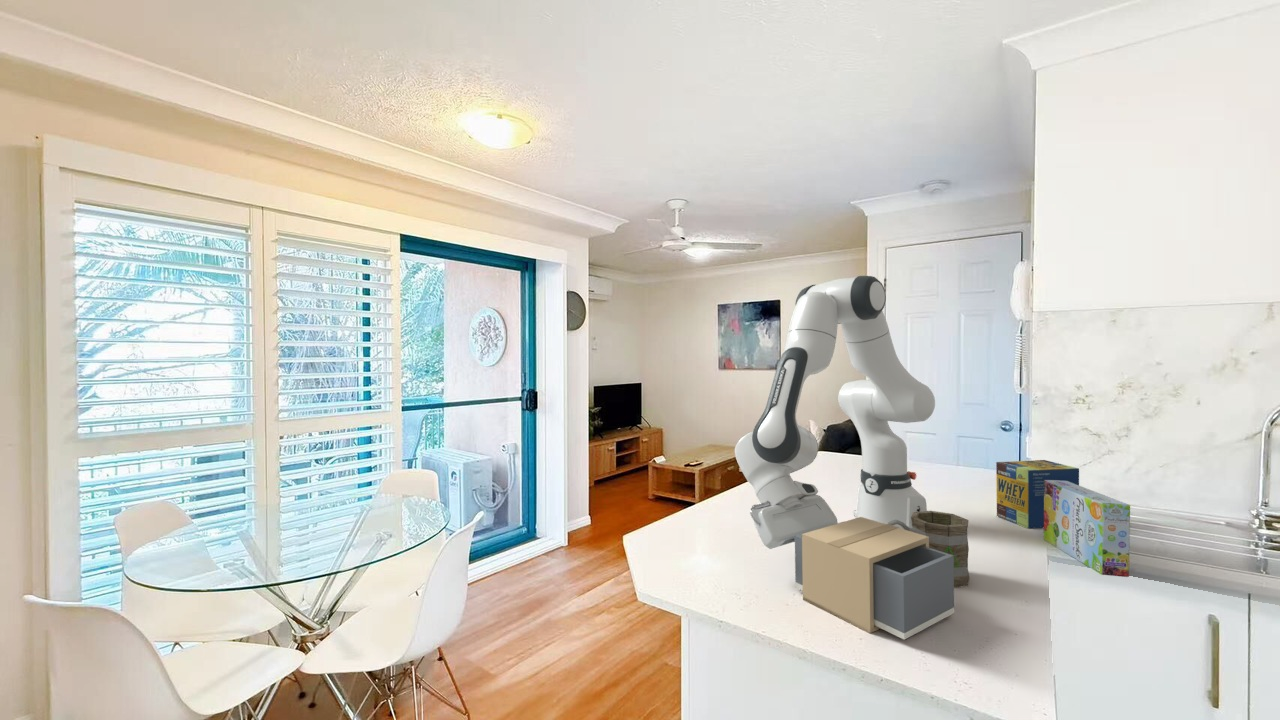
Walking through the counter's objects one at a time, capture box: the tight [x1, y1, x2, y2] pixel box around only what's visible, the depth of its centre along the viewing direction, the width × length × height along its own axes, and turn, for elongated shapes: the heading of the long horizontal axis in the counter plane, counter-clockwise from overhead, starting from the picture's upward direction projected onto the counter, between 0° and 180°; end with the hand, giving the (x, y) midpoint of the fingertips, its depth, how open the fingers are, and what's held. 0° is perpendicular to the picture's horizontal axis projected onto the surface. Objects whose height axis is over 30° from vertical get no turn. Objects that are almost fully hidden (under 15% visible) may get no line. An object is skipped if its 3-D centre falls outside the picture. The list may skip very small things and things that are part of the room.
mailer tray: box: [794, 520, 955, 640], centre depth 94 cm, size 15×22×10 cm
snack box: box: [1043, 480, 1131, 578], centre depth 114 cm, size 21×6×15 cm, turn 168°
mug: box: [888, 510, 970, 588], centre depth 106 cm, size 16×11×12 cm
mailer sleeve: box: [802, 517, 929, 634], centre depth 95 cm, size 18×14×13 cm
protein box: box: [995, 459, 1080, 529], centre depth 138 cm, size 10×15×16 cm
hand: (818, 557), depth 104 cm, fingers closed, pressing on mailer tray
